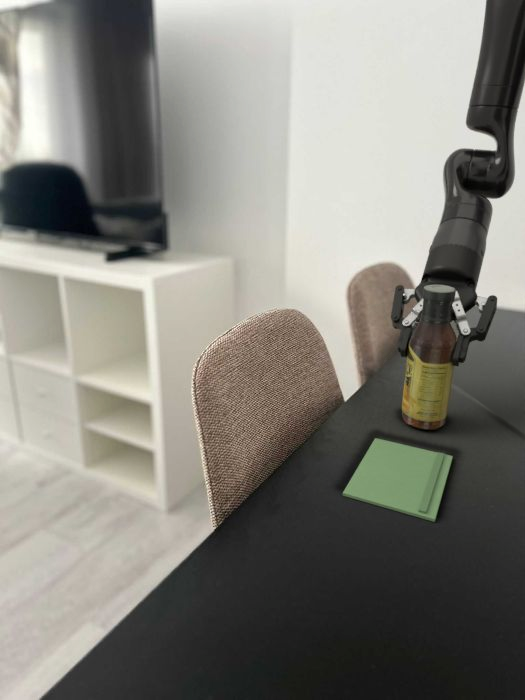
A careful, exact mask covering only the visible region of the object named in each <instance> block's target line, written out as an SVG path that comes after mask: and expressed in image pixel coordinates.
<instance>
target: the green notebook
mask: <svg viewBox="0 0 525 700" xmlns="http://www.w3.org/2000/svg"><path fill="white" fill-rule="evenodd" d="M453 458H454V457H453V455H449V454H446V453H444V452H439V451H438V452H436V451H432V450H428V449H424V448H419V447H416V446H411V445H406V444H403V443H399V442H394V441H390V440H386V439H385V440H384V439H381V438H378V437H377V438H376V437H374V440H373V441H372V442H371V444H370V446H369V448H368V449H367V451H366V452H365V454H364V456H363V458H362V460H361V461H360V462H359V464H358V466H357V468H356V470H355V471H354V473H353V475H352V476H351V478H350V479H349V482H348V483H347V485H346V486H345V488H344V490H343V491H342V496H343V497H347V498H348V499H349V498H350V499H353V500H356V501H360V502H363V503H366V504H371V505H374V506H378V507H381V508H384V509H388V510H391V511H394V512H397V513H401V514H406V515H409V516H412V517H416V518H419V519H423V520H426V521H429V522H433V523H435V522H436V520H437V516H438V512H439V508H440V505H441V501H442V497H443V496H444V495H443V494H444V490H445V487H446V483H447V480H448V476H449V472H450V469H451V465H452V462H453Z"/></svg>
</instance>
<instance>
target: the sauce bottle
mask: <svg viewBox="0 0 525 700" xmlns="http://www.w3.org/2000/svg"><path fill="white" fill-rule="evenodd" d="M455 293H456V289H455V288H453V287H450V286H446V285H427V286H425V287H424V288H423V295H422V296H423V308H422V314H421V319H420V321H419V323H418V325H417V327H416V329H415V330H414V331H413V332H412V334H413V335H412V337H411V338H410V340H409V345H408V355H407V357H406V362H405V372H404V373H405V374H404V382H403V393H402V400H401V401H402V402H401V414H402V415H401V416H402V419H403V421H404V422H405V424H407V425H409V426H411V427H414V428H416V429H420V430H427V431H434V430H438V429H440V428H441V427H443V426H444V425H445V424H446V418H447V414H448V410H449V404H450V399H451V398H450V397H451V391H452V384H453V383H452V382H453V376H454V369H455V366H453V363H452V359H453V354H454V350H455V346H456V342H457V338H458V337H457V335H456V332H455V329H454V328H453V326H452V324H451V322H450V321H451V311H452V304H453V302H454V299H455Z"/></svg>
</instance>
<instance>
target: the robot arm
mask: <svg viewBox="0 0 525 700" xmlns="http://www.w3.org/2000/svg"><path fill="white" fill-rule="evenodd" d="M484 8H485V9H484V17H483V18H484V19H483V26H482V32H481V40H480V47H479V53H478V59H477V63H476V69H475V74H474V78H473V83H472V89H471V93H470V98H469V102H468V107H467V112H466V118H465V126H466V128H467V129H468V130H470V131H472V132H475V133H478V134H483V135H485V136H487V137H490V138H491V139H492V140H493V141H494V143H495V150H491V149H479V148H469V147H468V148H466V147H465V148H463V147H462V148H457V149H455V150H454V151H452V152H451V153H450V154H449V155H448V157H447V158H446V159H445V161H444V164H443V168H442V169H443V170H442V184H443V194H444V203H443V209H442V213H441V217H440V221H439V224H438V227H437V231H436V233H435V235H434V237H433V239H432V242H431V244H430V247H429V250H428V256H427V258H426V262H425V265H424V266H425V267H424V268H423V272H422V276H421V280H420V282H419V284H418V285H417V286H416V287H414V288H405V287H404V285H402V284H399V285H396V286H395V289H394V295H393V301H392V307H391V312H390V320H391V323H392V328H393V329H395V330H400V333H399V336H398V339H397V343H396V347H397V351H398V353H399V354H400V357H401V358H407V355H408V345H409V340H410V338H411V337H412V335H413V333H414V331H415V329H416V327H417V325H418V323H419V321H420V319H421V314H422V308H423V296H422V295H423V288H424V287H425V286H427V285H446V286H450V287H453V288H455V289H456V293H455V299H454V302H453V304H452V311H451V321H450V323H452V322H454V325H455V328H456V331H457V332H458V335H457V337H456V338H457V342H456V346H455V350H454V354H453V359H452V363H453V366H454V367H459V366H460V364H464V363H465V361H466V359H467V355H468V350H469V346H470V344H471V343H472V342H475V341H478V342H484V341H485V340H486V338H487V335H488V333H489V331H490V328H491V325H492V322H493V320H494V317H495V314H496V311H497V309H498V297H497V296H496V295H494V294H492V295H489V296H488V297H483V296H479V295H478V293H477V288H478V282H479V280H480V279H479V278H480V274H481V270H482V267H483V262H484V258H485V254H486V250H487V239H488V233H489V229H490V226H491V222H492V216H493V213H494V212H493V211H494V210H493V209H494V207H493V205H492V203H491V202H492V201H490V199H491V200H497V199H501V198H503V197H505V195H507V194H508V192H509V191H510V190H511V188H512V187H513V184H514V181H515V177H516V161H515V129H516V121H517V116H518V112H519V108H520V105H521V100H522V96H523V91H524V87H525V0H485V7H484ZM412 299H415V301H416V302H417V303H416V304H415V306H413V308H412V309H411V311H410V312H409V313H408V314H407V316H406V317H404V311H405V305H408V304H410V302H411V300H412ZM475 306H477V307H478V313H480V314H481V315H480V317H479V319H478V323H477V324H476V326H475V327H470V325H469V322H468V319H467V313H468V312H469V311H470V310H472V309H473V308H475Z"/></svg>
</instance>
